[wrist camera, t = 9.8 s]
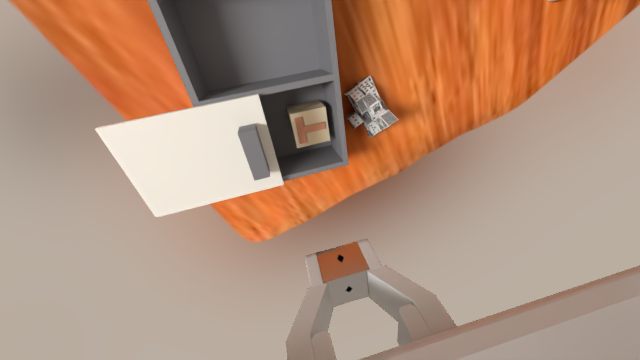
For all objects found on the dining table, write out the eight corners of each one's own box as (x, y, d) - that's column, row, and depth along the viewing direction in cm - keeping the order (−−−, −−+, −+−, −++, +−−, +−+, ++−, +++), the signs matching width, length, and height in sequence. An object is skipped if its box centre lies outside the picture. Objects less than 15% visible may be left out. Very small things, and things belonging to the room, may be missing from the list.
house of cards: (304, 103, 30) (317, 120, 24) (361, 61, 29) (392, 66, 23) (338, 154, 35) (357, 180, 28) (389, 119, 34) (420, 137, 27)
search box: (309, -41, 23) (324, -65, 18) (334, 146, 34) (348, 164, 28) (160, -19, 21) (130, -38, 16) (235, 170, 32) (231, 194, 27)
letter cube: (317, 99, 29) (325, 107, 26) (322, 130, 31) (330, 140, 28) (285, 106, 29) (289, 115, 25) (292, 136, 31) (297, 148, 27)
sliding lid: (258, 93, 22) (258, 98, 20) (283, 182, 27) (285, 194, 25) (97, 126, 20) (79, 136, 18) (157, 214, 26) (148, 229, 24)
